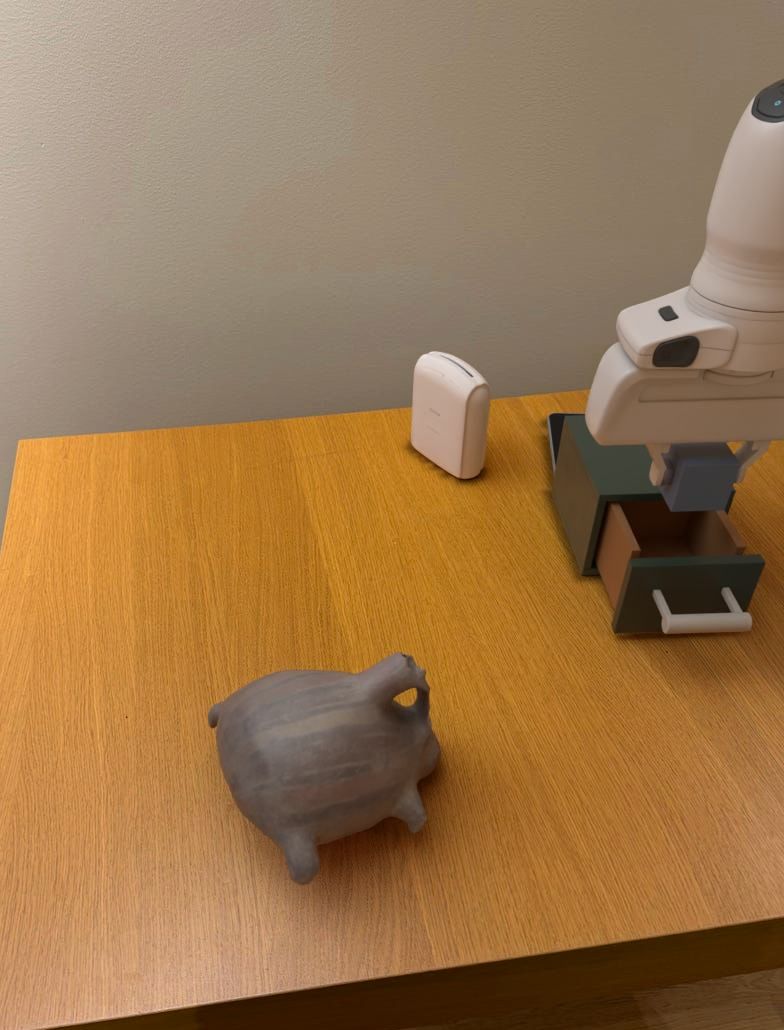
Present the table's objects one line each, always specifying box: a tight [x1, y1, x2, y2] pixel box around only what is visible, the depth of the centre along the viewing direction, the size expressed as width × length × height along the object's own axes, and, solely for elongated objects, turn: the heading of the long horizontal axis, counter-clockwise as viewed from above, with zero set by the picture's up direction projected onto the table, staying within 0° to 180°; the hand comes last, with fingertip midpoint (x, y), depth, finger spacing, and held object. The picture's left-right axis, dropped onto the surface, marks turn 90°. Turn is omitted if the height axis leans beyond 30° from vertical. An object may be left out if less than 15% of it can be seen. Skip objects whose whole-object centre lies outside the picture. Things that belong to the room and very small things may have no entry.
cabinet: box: [550, 415, 737, 576], centre depth 93 cm, size 15×13×10 cm
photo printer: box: [410, 351, 492, 480], centre depth 104 cm, size 10×4×12 cm, turn 32°
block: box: [658, 442, 740, 512], centre depth 78 cm, size 5×5×5 cm
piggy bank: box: [207, 651, 442, 886], centre depth 69 cm, size 18×16×14 cm
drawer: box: [594, 500, 766, 635], centre depth 84 cm, size 18×11×8 cm, turn 1°
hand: (693, 481), depth 79 cm, fingers closed on block, 4 cm apart
